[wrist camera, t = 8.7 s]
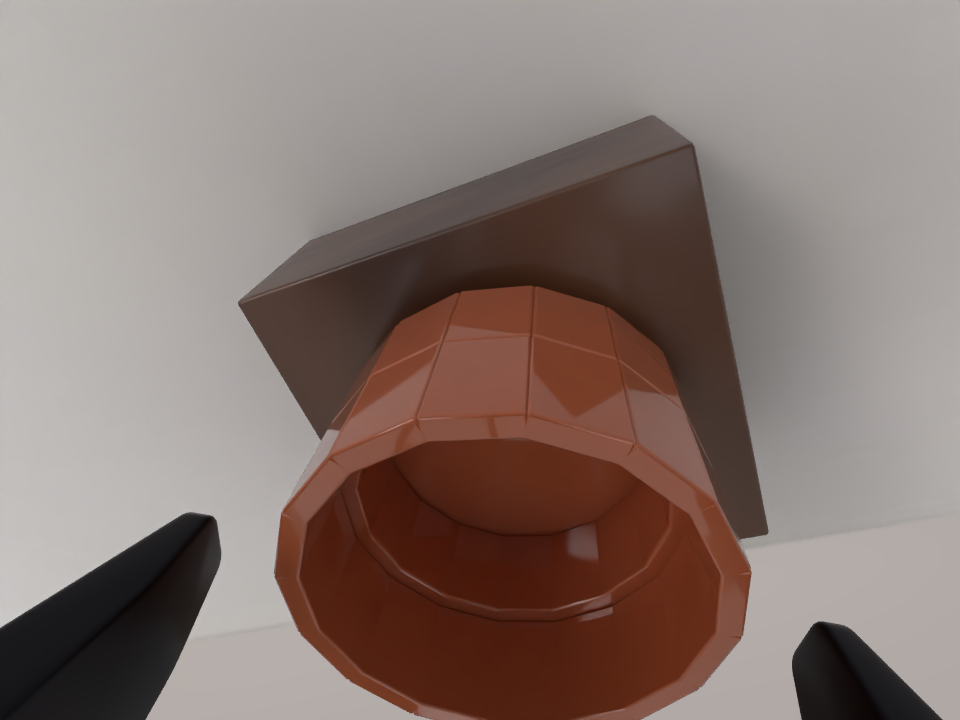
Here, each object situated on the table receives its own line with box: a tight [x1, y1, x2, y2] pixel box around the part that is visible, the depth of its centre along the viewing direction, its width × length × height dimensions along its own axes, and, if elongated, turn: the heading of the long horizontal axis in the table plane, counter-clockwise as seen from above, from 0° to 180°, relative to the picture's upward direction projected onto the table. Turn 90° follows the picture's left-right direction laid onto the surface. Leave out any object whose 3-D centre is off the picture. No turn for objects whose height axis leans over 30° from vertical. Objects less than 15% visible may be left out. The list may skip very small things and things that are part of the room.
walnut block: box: [238, 115, 768, 539], centre depth 14 cm, size 9×9×4 cm
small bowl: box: [274, 285, 751, 720], centre depth 10 cm, size 7×7×4 cm
